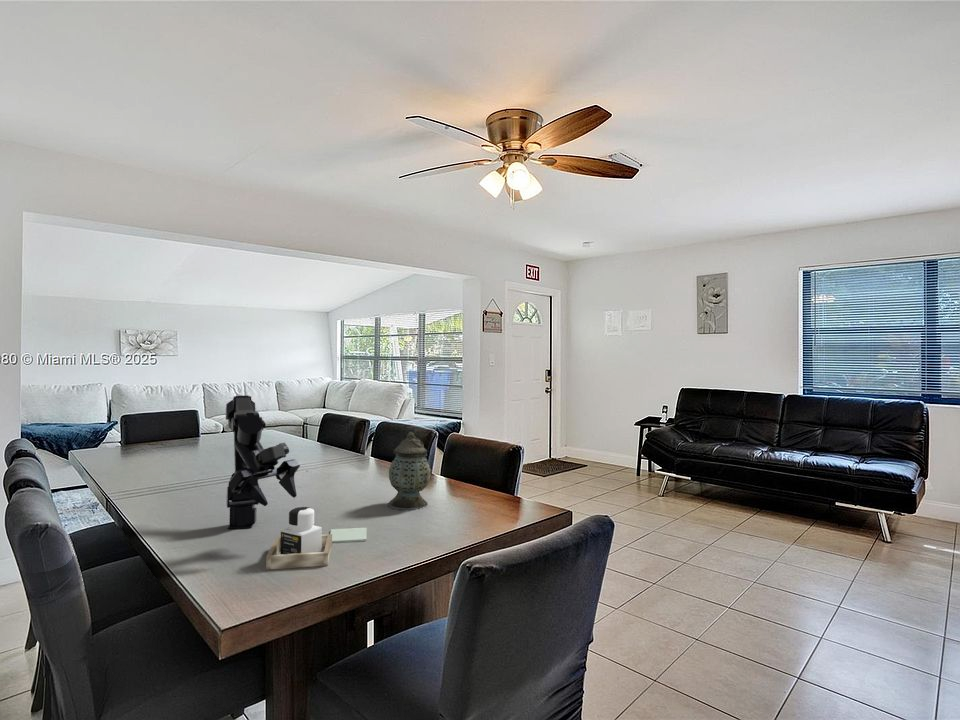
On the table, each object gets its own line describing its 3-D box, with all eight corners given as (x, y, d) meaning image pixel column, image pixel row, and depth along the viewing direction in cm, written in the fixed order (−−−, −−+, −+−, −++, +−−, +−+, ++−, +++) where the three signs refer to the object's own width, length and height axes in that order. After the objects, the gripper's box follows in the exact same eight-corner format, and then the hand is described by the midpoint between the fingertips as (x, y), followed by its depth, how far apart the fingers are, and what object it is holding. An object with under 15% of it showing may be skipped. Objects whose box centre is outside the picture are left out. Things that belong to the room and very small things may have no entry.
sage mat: (328, 542, 143) (328, 541, 143) (331, 530, 153) (331, 529, 153) (366, 540, 145) (366, 539, 145) (366, 529, 155) (366, 527, 155)
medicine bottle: (279, 558, 131) (280, 510, 131) (301, 549, 138) (302, 503, 138) (300, 564, 128) (301, 514, 128) (322, 554, 134) (322, 507, 134)
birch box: (266, 569, 125) (266, 556, 125) (276, 548, 138) (276, 536, 138) (327, 565, 128) (328, 553, 128) (331, 545, 141) (332, 534, 141)
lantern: (409, 497, 191) (410, 428, 191) (438, 504, 182) (439, 431, 182) (379, 505, 180) (380, 431, 180) (408, 513, 171) (409, 436, 171)
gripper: (236, 438, 131) (266, 488, 125) (295, 430, 147) (324, 474, 142) (215, 466, 134) (244, 517, 129) (275, 455, 151) (302, 499, 146)
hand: (281, 500), depth 136 cm, fingers open, 9 cm apart
